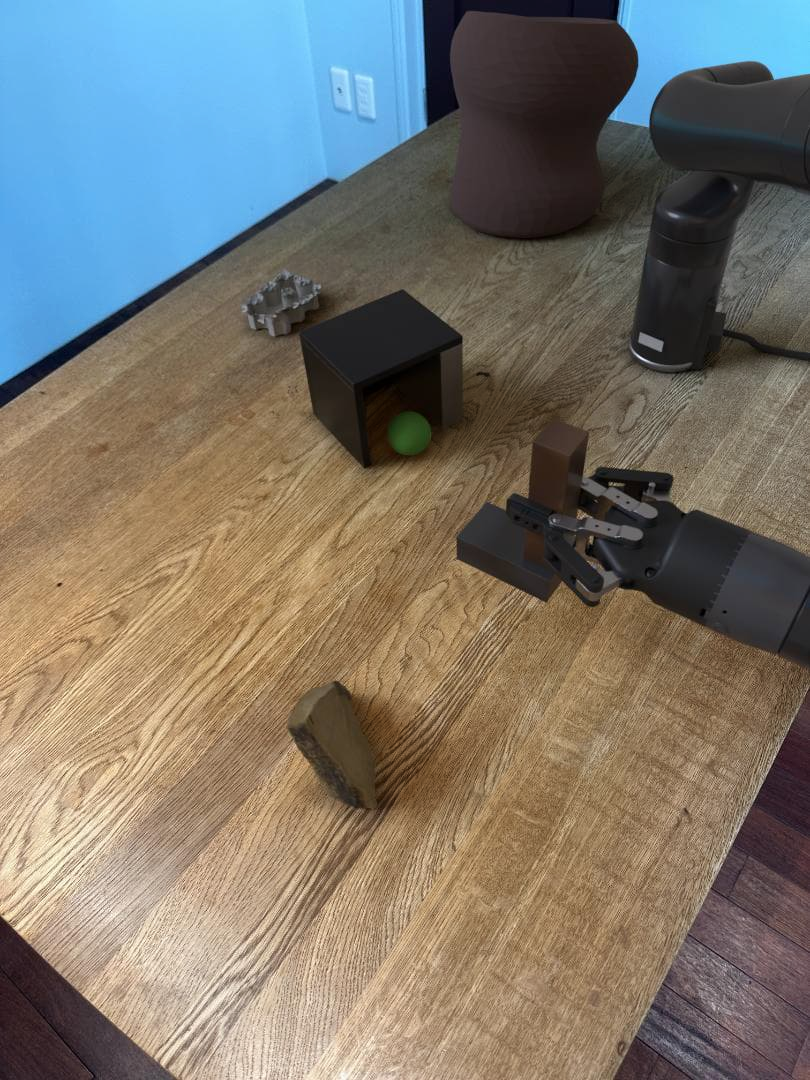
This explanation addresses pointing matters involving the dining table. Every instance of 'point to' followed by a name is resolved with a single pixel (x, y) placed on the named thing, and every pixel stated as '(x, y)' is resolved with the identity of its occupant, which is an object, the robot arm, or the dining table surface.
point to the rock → (334, 744)
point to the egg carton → (281, 303)
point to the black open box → (382, 366)
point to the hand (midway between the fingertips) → (520, 490)
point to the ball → (409, 433)
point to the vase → (534, 118)
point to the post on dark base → (551, 484)
